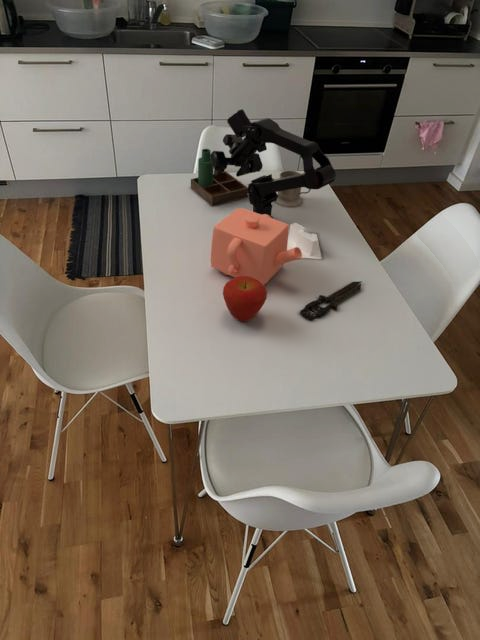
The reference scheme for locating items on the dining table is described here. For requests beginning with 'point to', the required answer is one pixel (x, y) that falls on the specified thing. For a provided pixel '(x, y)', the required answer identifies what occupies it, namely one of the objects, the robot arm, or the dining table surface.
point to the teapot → (251, 245)
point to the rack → (221, 189)
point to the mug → (290, 192)
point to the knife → (326, 299)
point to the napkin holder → (303, 242)
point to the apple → (244, 297)
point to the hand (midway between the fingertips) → (225, 175)
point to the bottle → (205, 169)
